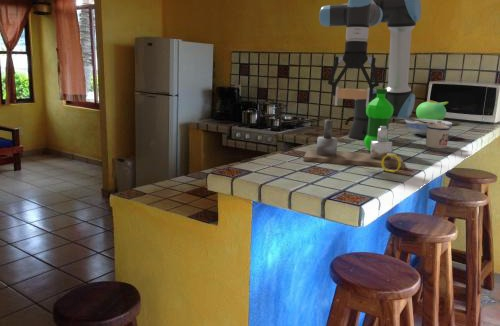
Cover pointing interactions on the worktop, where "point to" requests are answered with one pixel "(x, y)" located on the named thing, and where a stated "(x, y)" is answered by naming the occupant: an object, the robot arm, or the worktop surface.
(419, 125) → the ramen bowl
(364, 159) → the tool board
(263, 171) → the worktop surface
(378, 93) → the plastic bottle
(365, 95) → the octagonal notched ring
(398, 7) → the robot arm
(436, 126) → the teacup with lid
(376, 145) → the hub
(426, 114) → the green pumpkin
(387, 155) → the watch
